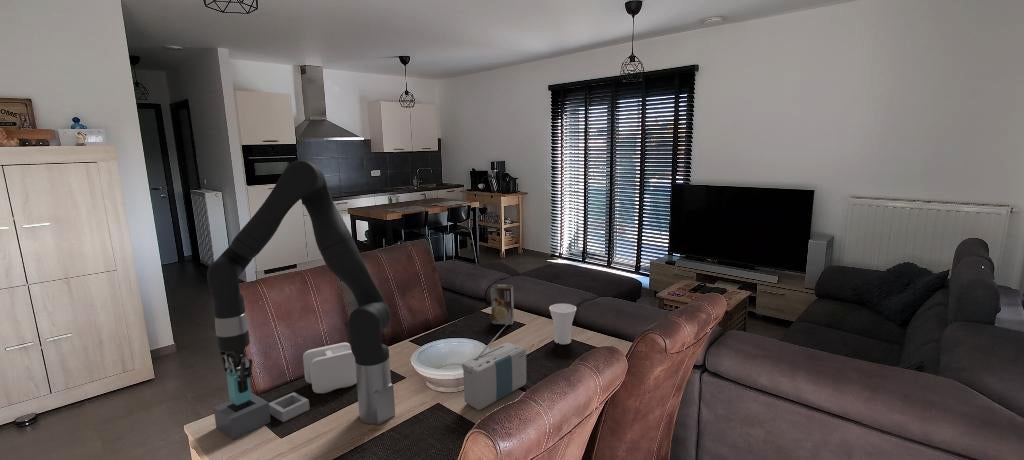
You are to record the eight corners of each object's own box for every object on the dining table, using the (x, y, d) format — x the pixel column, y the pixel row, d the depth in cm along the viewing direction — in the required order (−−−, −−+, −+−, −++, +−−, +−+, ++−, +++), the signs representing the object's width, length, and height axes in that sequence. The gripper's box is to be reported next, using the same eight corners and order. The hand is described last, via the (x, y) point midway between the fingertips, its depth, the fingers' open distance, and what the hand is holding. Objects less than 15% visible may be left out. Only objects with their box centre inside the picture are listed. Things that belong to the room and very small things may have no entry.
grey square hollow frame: (309, 409, 141) (308, 399, 140) (283, 422, 134) (282, 412, 134) (294, 401, 145) (293, 392, 145) (268, 413, 139) (267, 403, 138)
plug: (251, 399, 133) (248, 367, 131) (236, 405, 130) (232, 372, 128) (244, 394, 135) (241, 363, 133) (229, 401, 132) (225, 368, 130)
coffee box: (514, 319, 210) (514, 284, 208) (512, 325, 204) (511, 288, 201) (494, 318, 212) (493, 283, 209) (491, 324, 206) (490, 287, 203)
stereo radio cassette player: (480, 414, 136) (477, 348, 133) (460, 404, 142) (458, 340, 139) (527, 387, 152) (527, 326, 148) (508, 378, 157) (507, 320, 154)
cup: (580, 339, 188) (581, 306, 185) (569, 348, 179) (569, 314, 177) (556, 334, 193) (556, 301, 191) (544, 343, 185) (544, 309, 182)
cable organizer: (310, 397, 147) (307, 362, 145) (305, 383, 156) (302, 350, 154) (360, 384, 155) (357, 350, 153) (352, 371, 164) (349, 339, 162)
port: (270, 422, 134) (268, 401, 133) (233, 439, 126) (230, 418, 125) (253, 411, 140) (250, 391, 139) (216, 427, 132) (213, 406, 131)
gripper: (259, 331, 128) (266, 391, 131) (234, 320, 136) (241, 377, 139) (229, 340, 122) (237, 403, 125) (205, 328, 130) (213, 387, 133)
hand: (239, 389), depth 132 cm, fingers closed on plug, 4 cm apart
